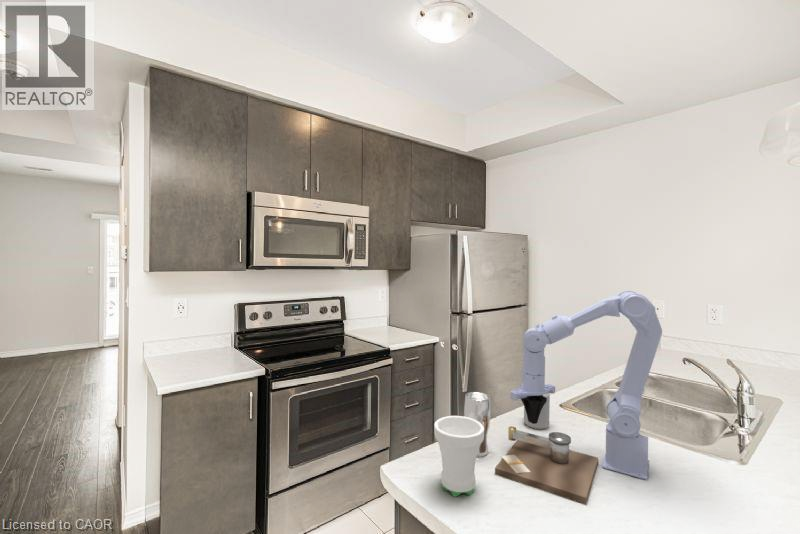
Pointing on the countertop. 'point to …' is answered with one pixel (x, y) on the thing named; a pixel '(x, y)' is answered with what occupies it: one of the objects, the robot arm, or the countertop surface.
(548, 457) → the brown flat wooden board
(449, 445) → the cup
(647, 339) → the robot arm
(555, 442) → the grey bar with knobs
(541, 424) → the can
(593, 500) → the countertop surface
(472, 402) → the beer glass
